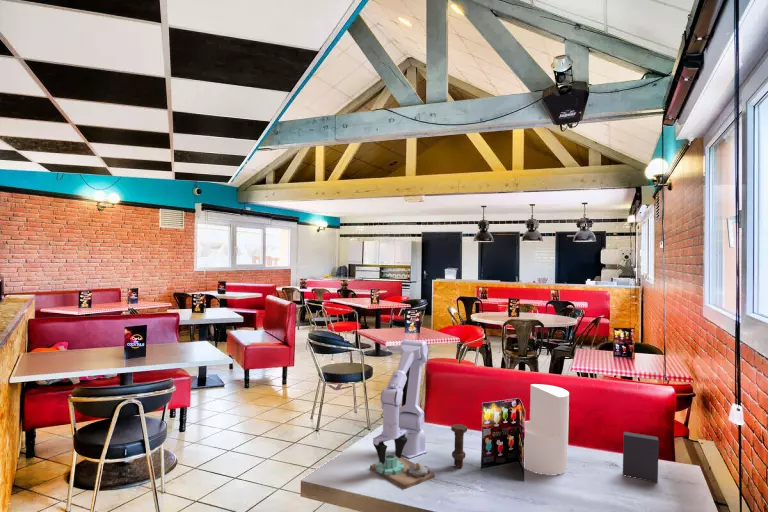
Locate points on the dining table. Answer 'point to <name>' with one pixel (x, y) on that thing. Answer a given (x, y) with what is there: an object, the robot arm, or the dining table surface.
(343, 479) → the dining table surface
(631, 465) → the calculator
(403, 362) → the robot arm
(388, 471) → the teal gear
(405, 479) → the gear board
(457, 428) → the bolt
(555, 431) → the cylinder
